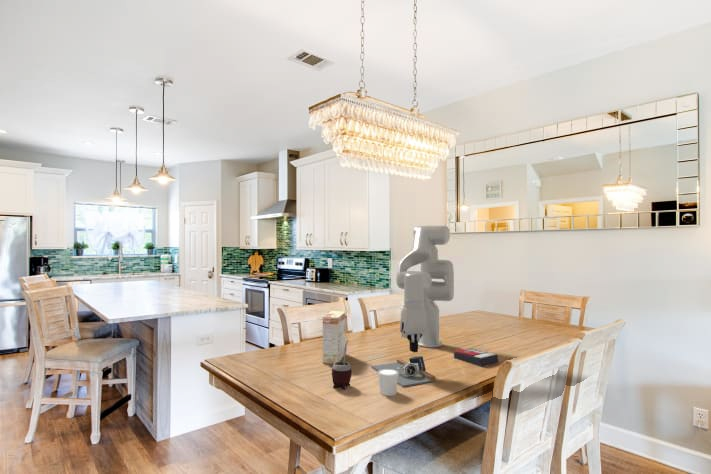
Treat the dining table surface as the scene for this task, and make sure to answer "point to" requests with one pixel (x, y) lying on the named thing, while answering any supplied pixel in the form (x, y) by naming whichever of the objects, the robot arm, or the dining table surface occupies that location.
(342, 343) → the coffeecake box
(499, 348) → the dining table surface
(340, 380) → the mate gourd
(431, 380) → the mat
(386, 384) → the white cup
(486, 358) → the calculator
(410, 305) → the robot arm
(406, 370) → the watch
